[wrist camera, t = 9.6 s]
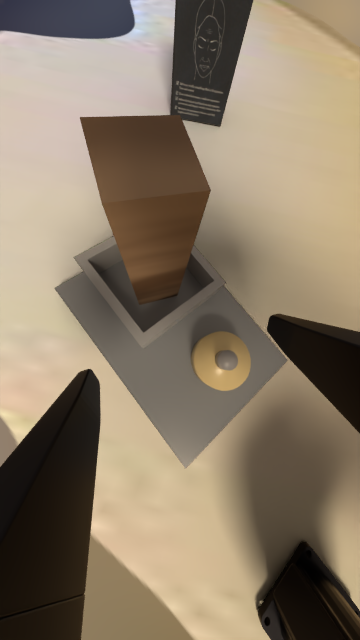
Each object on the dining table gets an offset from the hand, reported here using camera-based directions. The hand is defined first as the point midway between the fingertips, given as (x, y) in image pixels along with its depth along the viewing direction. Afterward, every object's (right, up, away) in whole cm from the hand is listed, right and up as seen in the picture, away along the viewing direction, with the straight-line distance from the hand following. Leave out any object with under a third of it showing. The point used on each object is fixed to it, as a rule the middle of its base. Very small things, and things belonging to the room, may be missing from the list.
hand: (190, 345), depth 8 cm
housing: (-1, 0, +9) cm, 9 cm away
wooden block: (-3, +5, +9) cm, 11 cm away
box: (+2, +34, +17) cm, 38 cm away
